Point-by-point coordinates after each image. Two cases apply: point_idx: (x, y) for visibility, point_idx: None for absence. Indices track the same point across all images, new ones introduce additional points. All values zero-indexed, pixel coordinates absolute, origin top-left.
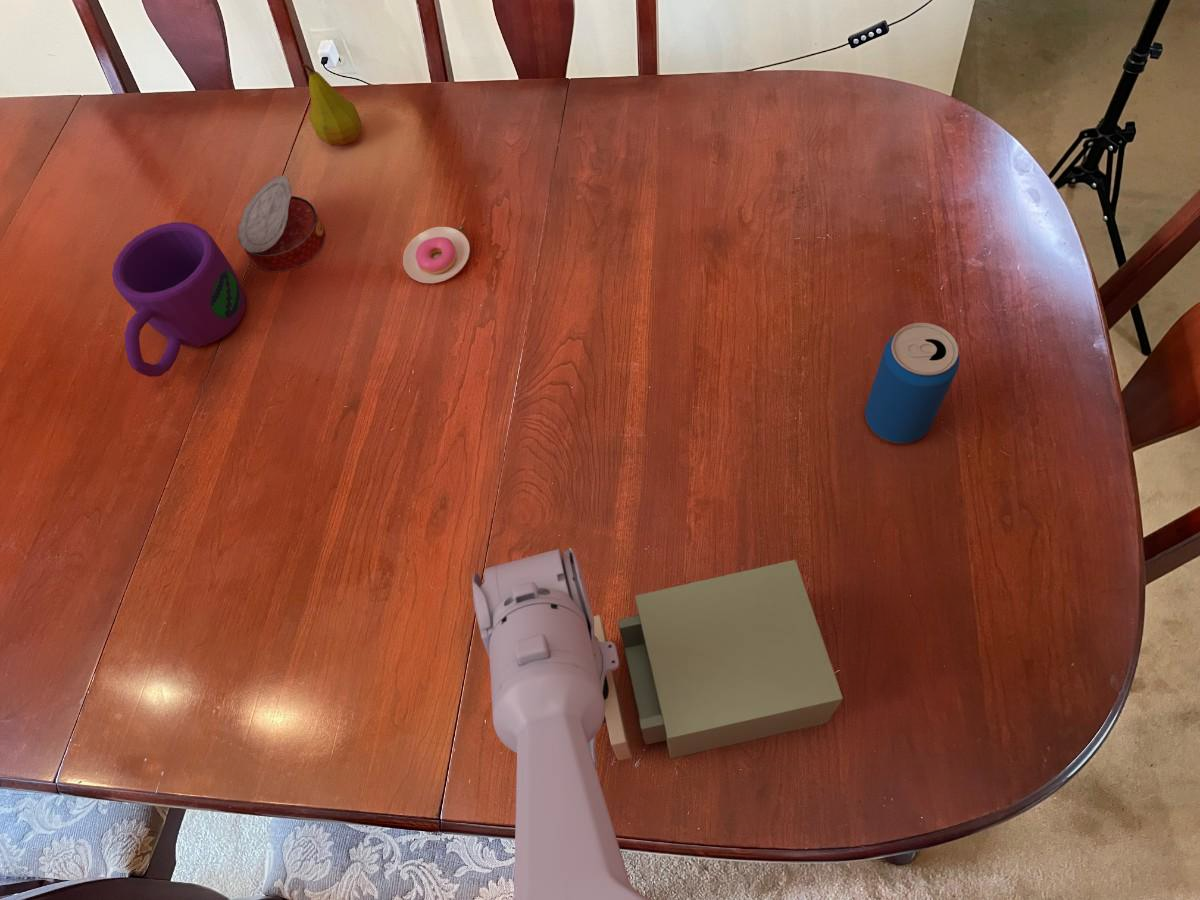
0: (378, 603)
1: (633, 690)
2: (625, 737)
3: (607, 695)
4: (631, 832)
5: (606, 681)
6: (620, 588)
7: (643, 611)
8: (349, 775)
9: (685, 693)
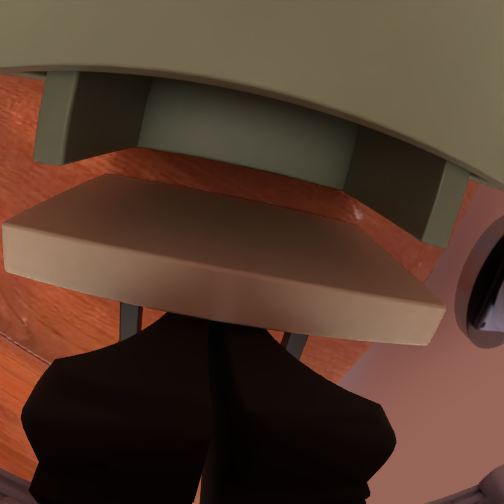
0: (19, 421)
1: (244, 166)
2: (438, 304)
3: (385, 418)
4: (430, 266)
5: (335, 431)
6: (32, 112)
7: (28, 42)
8: None
9: (468, 47)
